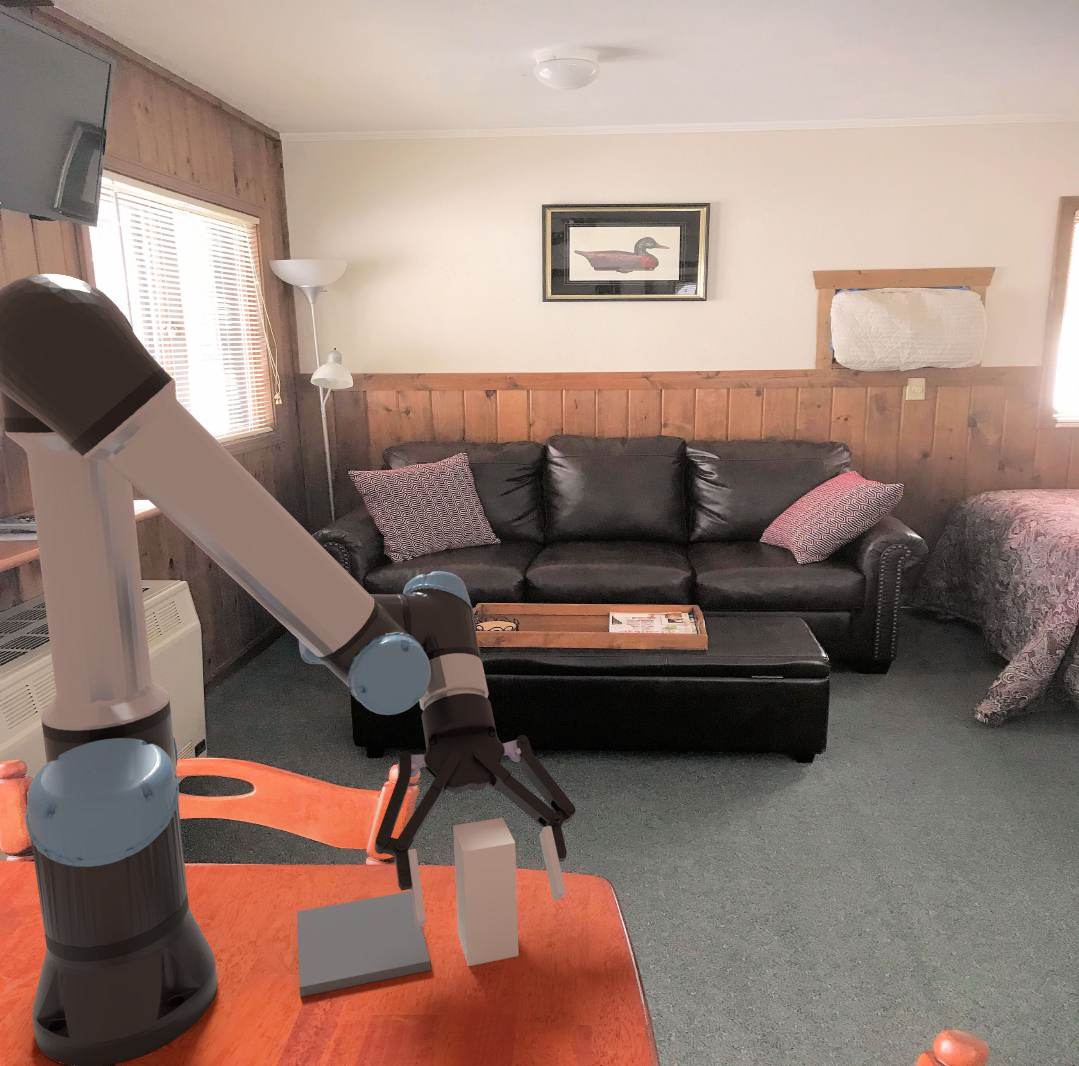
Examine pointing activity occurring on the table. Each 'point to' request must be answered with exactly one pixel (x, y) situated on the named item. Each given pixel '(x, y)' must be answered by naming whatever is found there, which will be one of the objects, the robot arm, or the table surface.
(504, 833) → the white rectangular block
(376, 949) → the mat
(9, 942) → the table surface
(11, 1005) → the table surface
